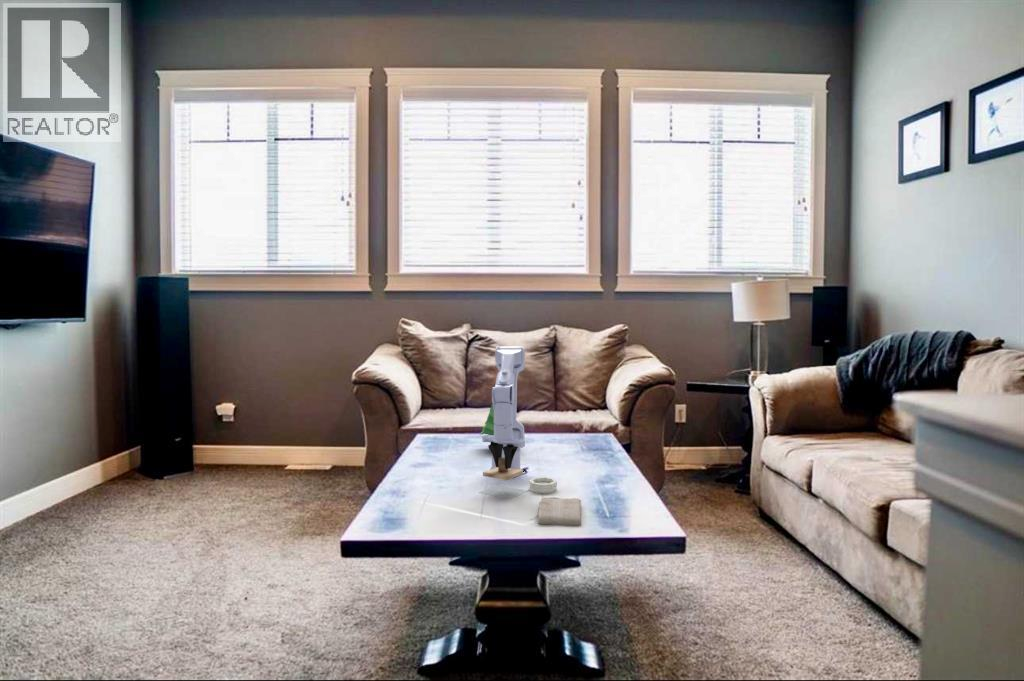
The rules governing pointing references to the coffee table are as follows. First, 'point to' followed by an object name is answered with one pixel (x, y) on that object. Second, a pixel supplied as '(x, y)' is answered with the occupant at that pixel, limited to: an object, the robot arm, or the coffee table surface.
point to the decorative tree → (490, 423)
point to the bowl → (543, 484)
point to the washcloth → (560, 511)
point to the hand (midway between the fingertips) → (503, 467)
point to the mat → (503, 491)
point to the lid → (502, 471)
